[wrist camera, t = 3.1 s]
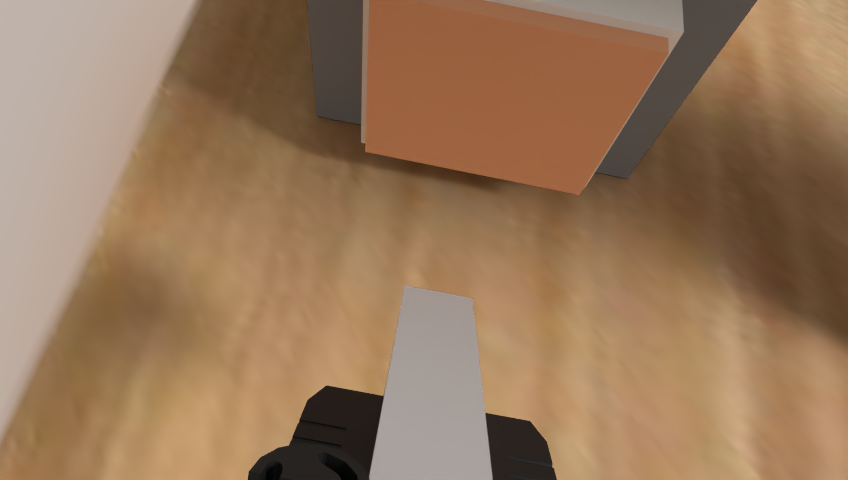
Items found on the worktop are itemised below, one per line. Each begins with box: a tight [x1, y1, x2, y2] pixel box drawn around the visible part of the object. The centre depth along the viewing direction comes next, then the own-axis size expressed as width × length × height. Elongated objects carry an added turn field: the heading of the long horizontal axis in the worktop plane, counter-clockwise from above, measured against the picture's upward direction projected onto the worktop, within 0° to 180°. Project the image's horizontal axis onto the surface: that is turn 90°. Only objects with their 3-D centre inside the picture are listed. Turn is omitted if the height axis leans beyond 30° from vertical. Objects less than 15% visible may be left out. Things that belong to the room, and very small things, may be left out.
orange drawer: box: [361, 0, 684, 195], centre depth 22 cm, size 8×9×8 cm
